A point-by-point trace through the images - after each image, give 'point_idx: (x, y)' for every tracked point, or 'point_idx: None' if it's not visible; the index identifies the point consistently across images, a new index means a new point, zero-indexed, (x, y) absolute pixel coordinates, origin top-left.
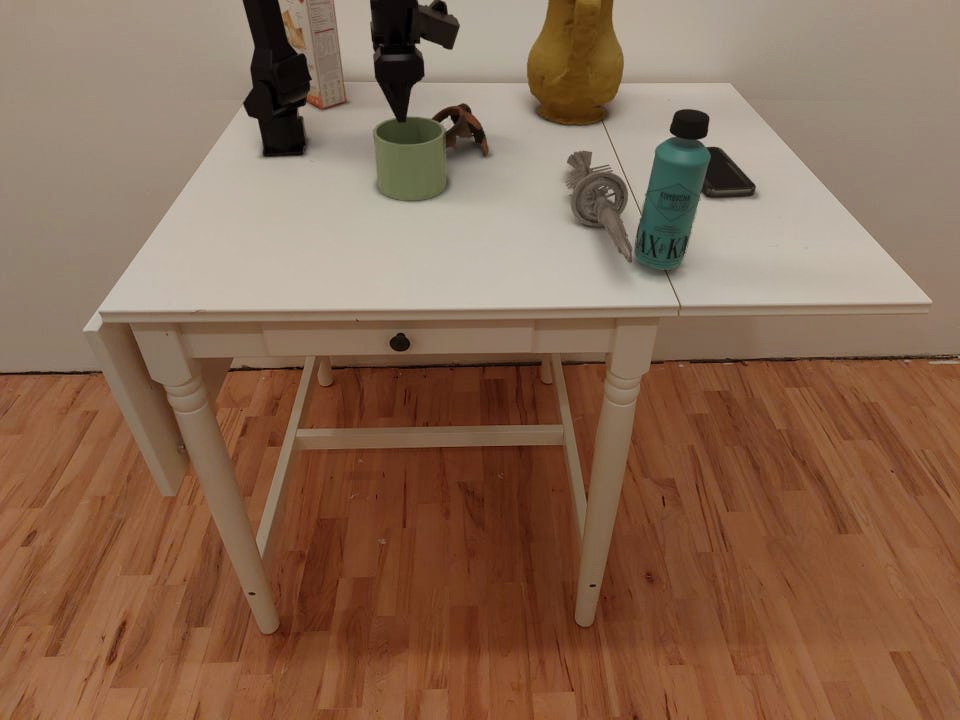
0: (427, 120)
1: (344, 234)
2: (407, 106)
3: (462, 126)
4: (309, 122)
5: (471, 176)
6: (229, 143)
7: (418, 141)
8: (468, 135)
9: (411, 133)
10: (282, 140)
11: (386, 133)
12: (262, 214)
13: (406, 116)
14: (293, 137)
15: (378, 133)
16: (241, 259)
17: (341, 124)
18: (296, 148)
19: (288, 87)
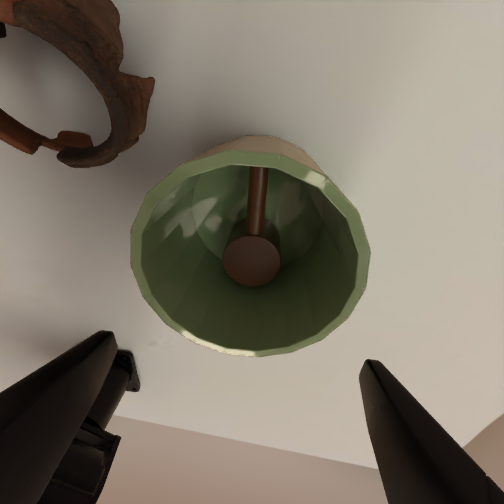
0: (158, 203)
1: (393, 330)
2: (448, 437)
3: (77, 29)
4: (10, 334)
5: (241, 51)
6: None
7: (172, 208)
8: (110, 12)
9: (162, 233)
10: (121, 389)
11: (186, 301)
12: (298, 396)
13: (399, 382)
14: (110, 378)
15: (216, 330)
16: None
17: (2, 295)
18: (119, 361)
19: (73, 495)
